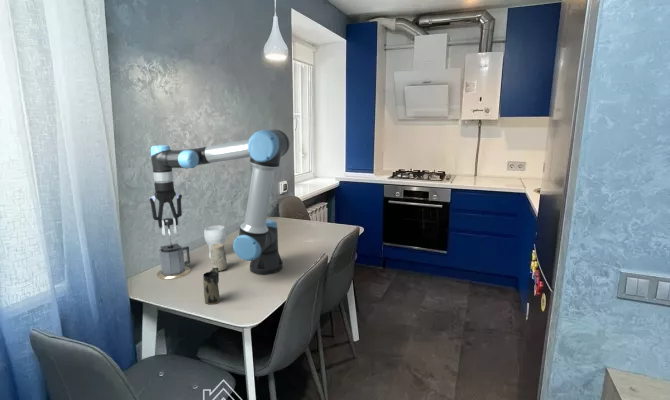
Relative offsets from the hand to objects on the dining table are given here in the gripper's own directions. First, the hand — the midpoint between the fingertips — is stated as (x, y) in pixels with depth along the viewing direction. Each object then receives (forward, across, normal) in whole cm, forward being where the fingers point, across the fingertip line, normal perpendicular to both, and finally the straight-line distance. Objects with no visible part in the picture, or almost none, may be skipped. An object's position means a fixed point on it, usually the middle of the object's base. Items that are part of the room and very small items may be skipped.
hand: (169, 233), depth 162 cm
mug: (+19, -6, +37) cm, 42 cm away
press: (+19, 0, 0) cm, 19 cm away
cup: (+19, -23, -9) cm, 31 cm away
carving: (+19, -18, +9) cm, 28 cm away
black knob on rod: (+13, 0, 0) cm, 13 cm away
